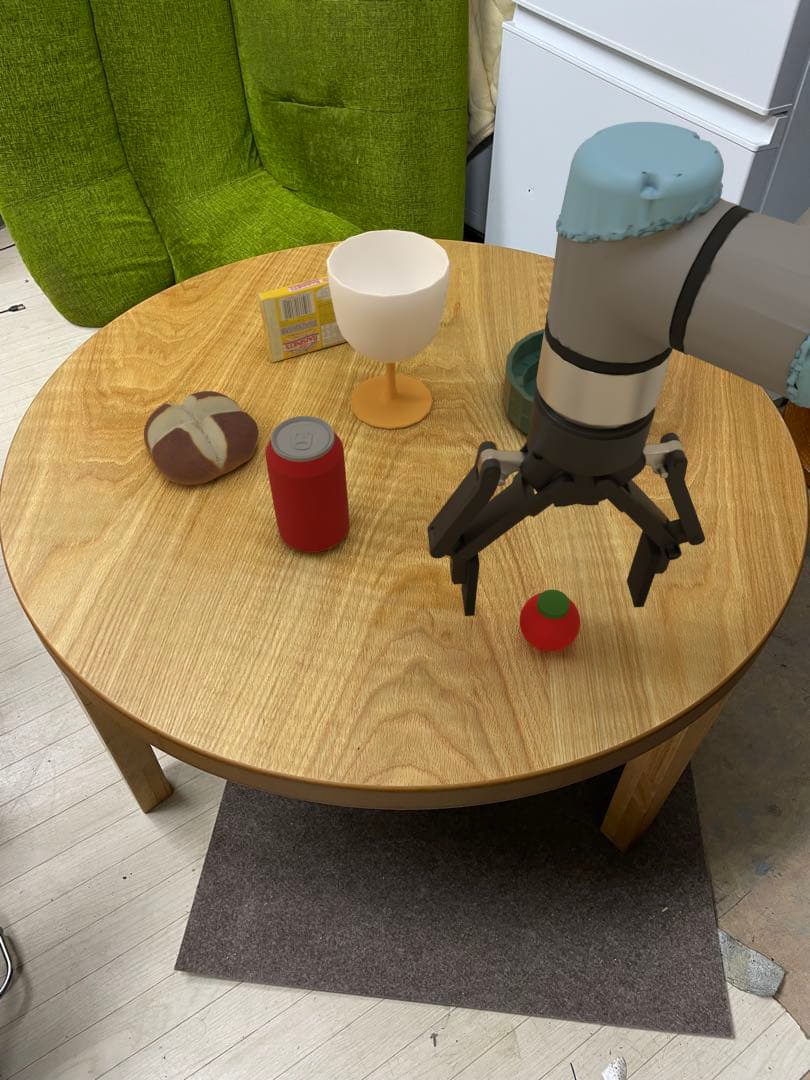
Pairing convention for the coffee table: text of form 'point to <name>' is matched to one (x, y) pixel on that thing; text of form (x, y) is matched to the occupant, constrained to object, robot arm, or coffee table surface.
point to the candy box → (299, 319)
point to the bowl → (522, 379)
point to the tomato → (549, 621)
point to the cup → (389, 316)
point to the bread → (200, 437)
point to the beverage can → (308, 483)
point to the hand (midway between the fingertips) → (551, 598)
